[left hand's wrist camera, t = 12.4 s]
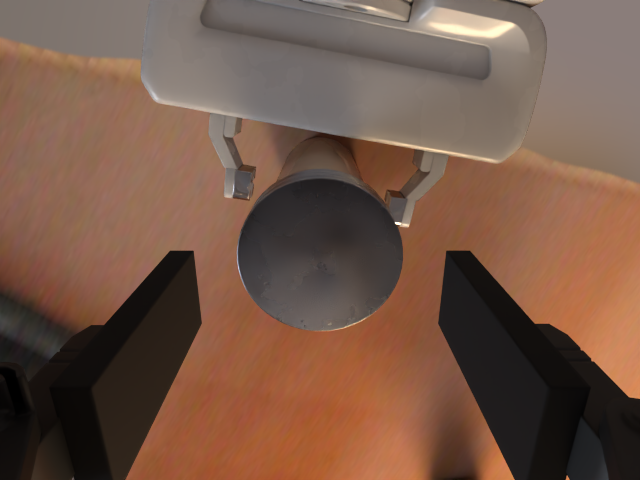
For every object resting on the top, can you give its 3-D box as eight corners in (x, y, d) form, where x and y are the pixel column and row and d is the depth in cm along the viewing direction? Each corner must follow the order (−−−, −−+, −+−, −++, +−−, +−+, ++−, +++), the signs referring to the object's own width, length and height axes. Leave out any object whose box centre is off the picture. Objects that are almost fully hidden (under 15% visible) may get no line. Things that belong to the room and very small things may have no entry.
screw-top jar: (289, 214, 32) (265, 323, 18) (277, 143, 30) (237, 198, 16) (360, 205, 32) (394, 307, 18) (352, 131, 30) (382, 178, 16)
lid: (260, 317, 19) (254, 340, 18) (229, 180, 17) (220, 191, 15) (401, 299, 19) (408, 321, 17) (388, 157, 17) (396, 165, 15)
